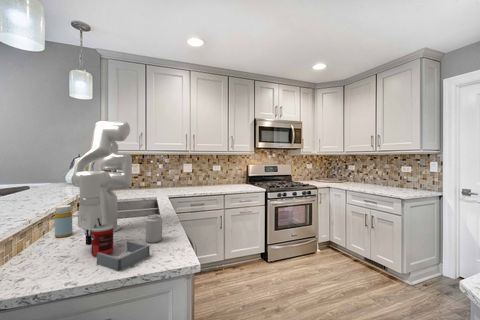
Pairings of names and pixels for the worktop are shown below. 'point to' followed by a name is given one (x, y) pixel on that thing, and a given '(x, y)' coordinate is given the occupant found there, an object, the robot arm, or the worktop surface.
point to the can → (153, 228)
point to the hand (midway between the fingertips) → (90, 243)
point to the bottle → (63, 221)
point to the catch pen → (116, 263)
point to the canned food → (102, 239)
